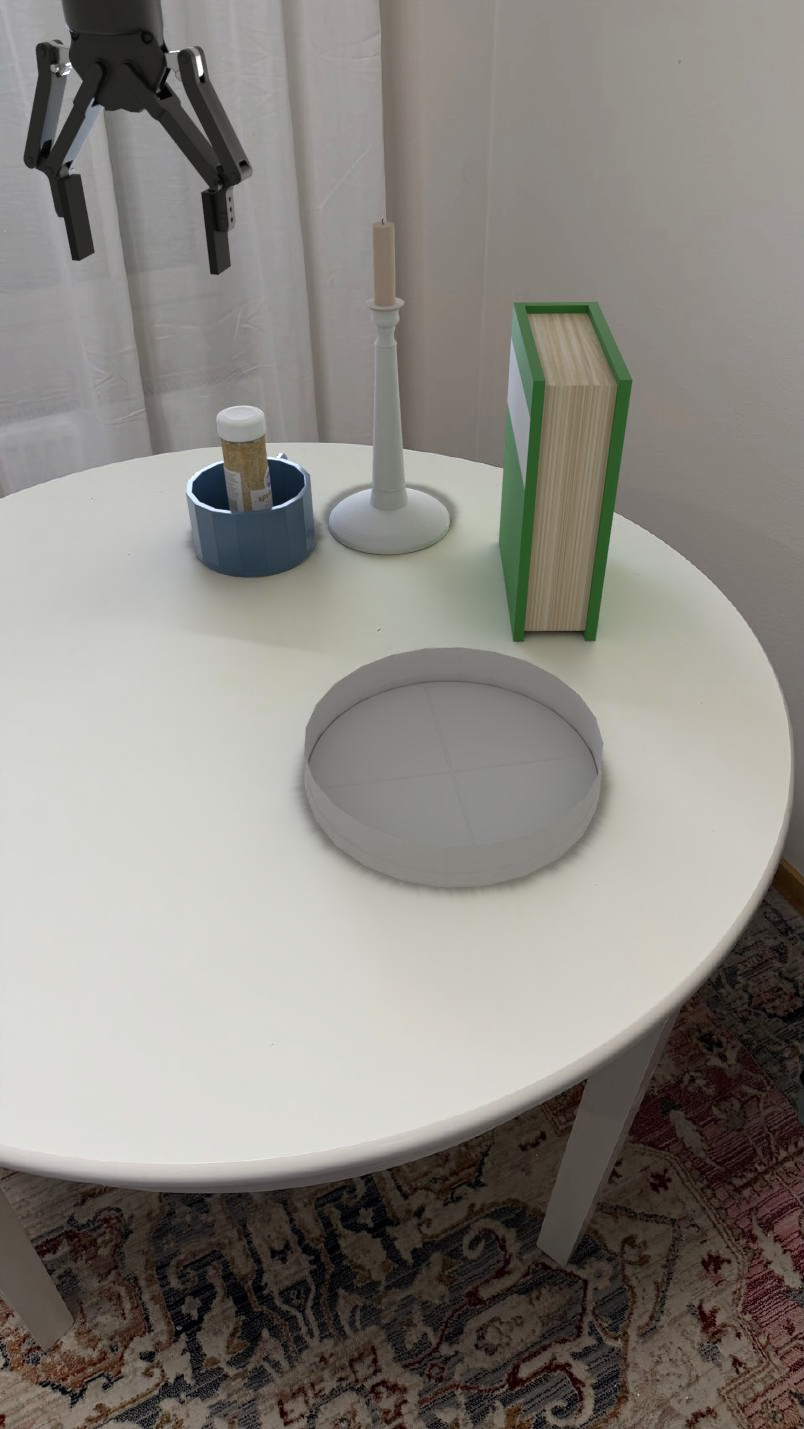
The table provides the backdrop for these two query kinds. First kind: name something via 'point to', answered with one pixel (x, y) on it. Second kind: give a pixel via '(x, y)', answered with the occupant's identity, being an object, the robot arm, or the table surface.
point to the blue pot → (252, 522)
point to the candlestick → (387, 440)
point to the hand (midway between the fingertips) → (151, 263)
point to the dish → (453, 766)
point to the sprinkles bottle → (245, 458)
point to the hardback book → (560, 464)
